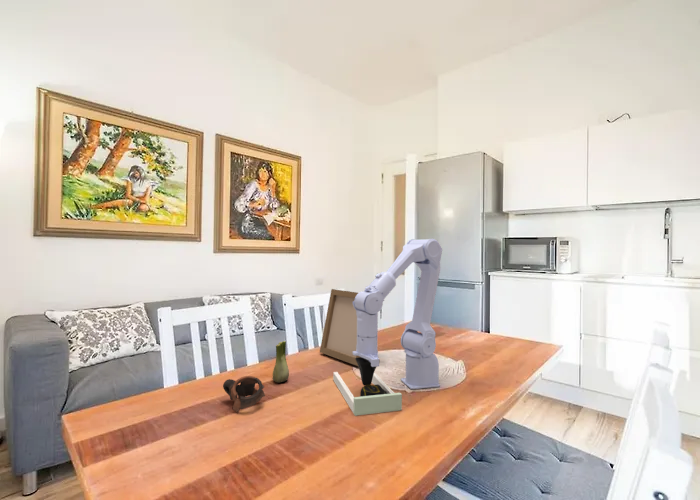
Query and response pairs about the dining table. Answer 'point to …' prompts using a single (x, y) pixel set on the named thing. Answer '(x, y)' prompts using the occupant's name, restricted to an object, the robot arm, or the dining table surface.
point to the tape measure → (372, 390)
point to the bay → (370, 398)
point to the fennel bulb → (280, 364)
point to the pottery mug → (244, 391)
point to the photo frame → (340, 327)
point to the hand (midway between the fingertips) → (366, 384)
